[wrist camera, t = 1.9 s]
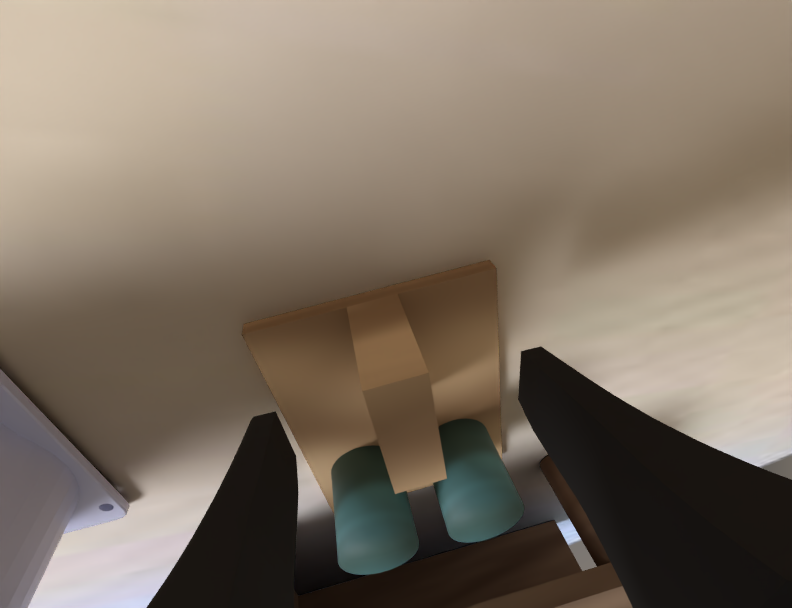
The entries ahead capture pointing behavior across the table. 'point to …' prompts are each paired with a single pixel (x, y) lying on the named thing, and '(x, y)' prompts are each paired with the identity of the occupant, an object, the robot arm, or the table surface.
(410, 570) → the wooden caddy
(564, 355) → the table surface
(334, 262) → the table surface
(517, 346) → the table surface
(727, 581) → the robot arm
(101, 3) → the table surface
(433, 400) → the tray
